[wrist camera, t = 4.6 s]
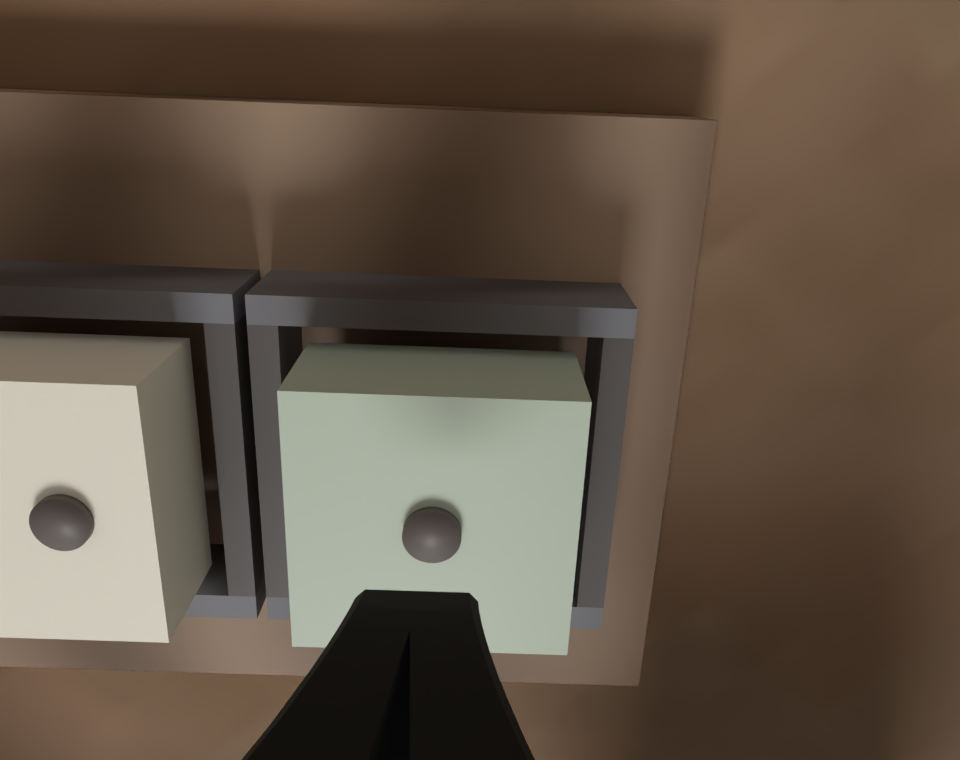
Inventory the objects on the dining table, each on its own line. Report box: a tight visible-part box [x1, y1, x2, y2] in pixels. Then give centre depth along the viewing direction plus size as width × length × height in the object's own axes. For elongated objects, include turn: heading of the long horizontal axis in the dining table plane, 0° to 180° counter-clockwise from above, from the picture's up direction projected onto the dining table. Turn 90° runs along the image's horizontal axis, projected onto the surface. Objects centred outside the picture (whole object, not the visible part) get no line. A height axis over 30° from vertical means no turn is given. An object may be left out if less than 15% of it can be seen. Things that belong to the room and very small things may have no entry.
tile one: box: [277, 342, 592, 655], centre depth 13 cm, size 4×4×2 cm
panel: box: [0, 88, 718, 686], centre depth 15 cm, size 22×12×3 cm, turn 88°
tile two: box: [0, 331, 212, 643], centre depth 13 cm, size 4×4×2 cm
